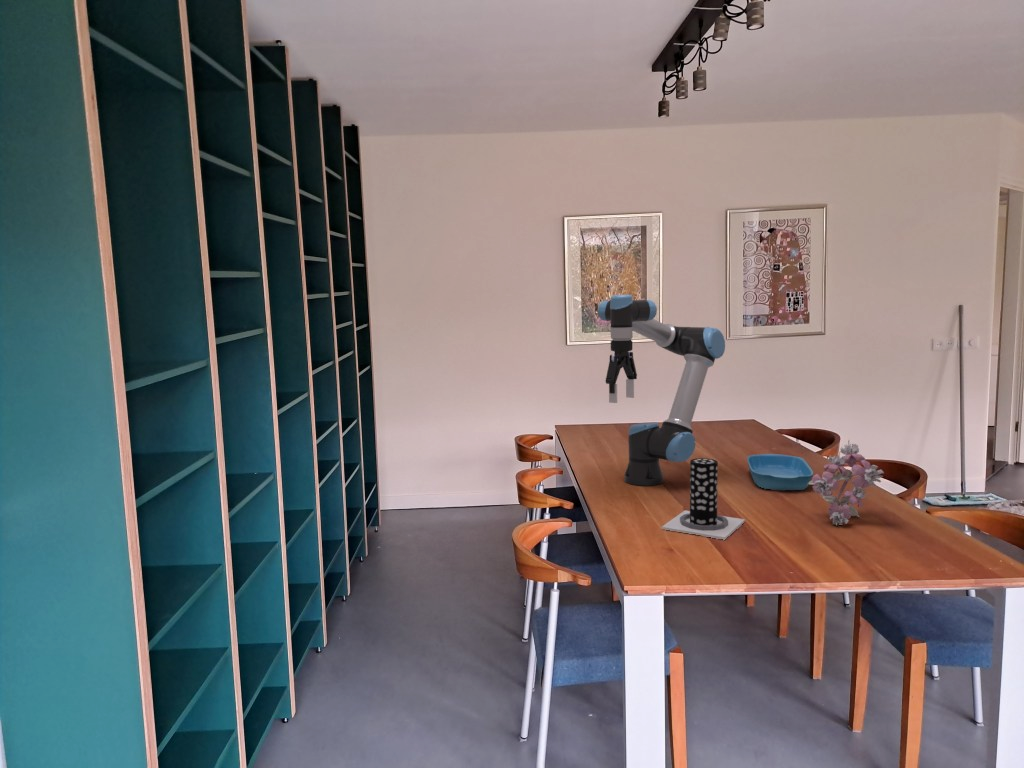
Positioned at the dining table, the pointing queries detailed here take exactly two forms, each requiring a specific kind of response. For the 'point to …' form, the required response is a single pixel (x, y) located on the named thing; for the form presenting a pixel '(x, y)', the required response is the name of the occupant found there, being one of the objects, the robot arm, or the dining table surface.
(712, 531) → the ring dock
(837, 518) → the flower
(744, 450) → the dining table surface
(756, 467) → the casserole dish
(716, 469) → the spotted tube
